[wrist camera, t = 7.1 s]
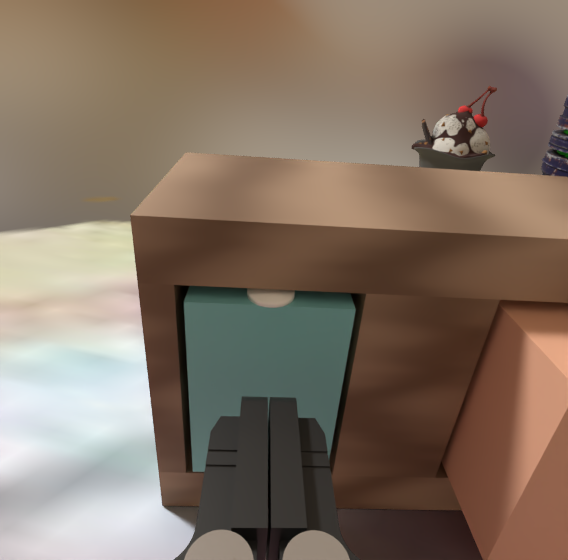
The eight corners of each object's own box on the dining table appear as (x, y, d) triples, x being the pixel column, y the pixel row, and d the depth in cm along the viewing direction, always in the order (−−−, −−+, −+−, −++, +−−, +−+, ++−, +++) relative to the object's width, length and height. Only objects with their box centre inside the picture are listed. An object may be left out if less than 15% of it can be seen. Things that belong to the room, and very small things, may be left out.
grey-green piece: (192, 474, 15) (182, 298, 11) (212, 364, 20) (210, 220, 17) (326, 476, 15) (357, 305, 12) (312, 367, 21) (330, 227, 17)
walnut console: (162, 505, 16) (130, 215, 11) (195, 370, 23) (185, 152, 18) (575, 512, 17) (745, 249, 12) (487, 380, 24) (567, 176, 19)
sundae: (476, 260, 40) (530, 89, 33) (435, 276, 36) (486, 87, 29) (420, 236, 44) (457, 82, 37) (378, 248, 41) (410, 79, 34)
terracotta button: (486, 567, 13) (583, 385, 9) (422, 416, 18) (469, 265, 15) (636, 568, 13) (785, 392, 10) (530, 419, 18) (601, 272, 15)
